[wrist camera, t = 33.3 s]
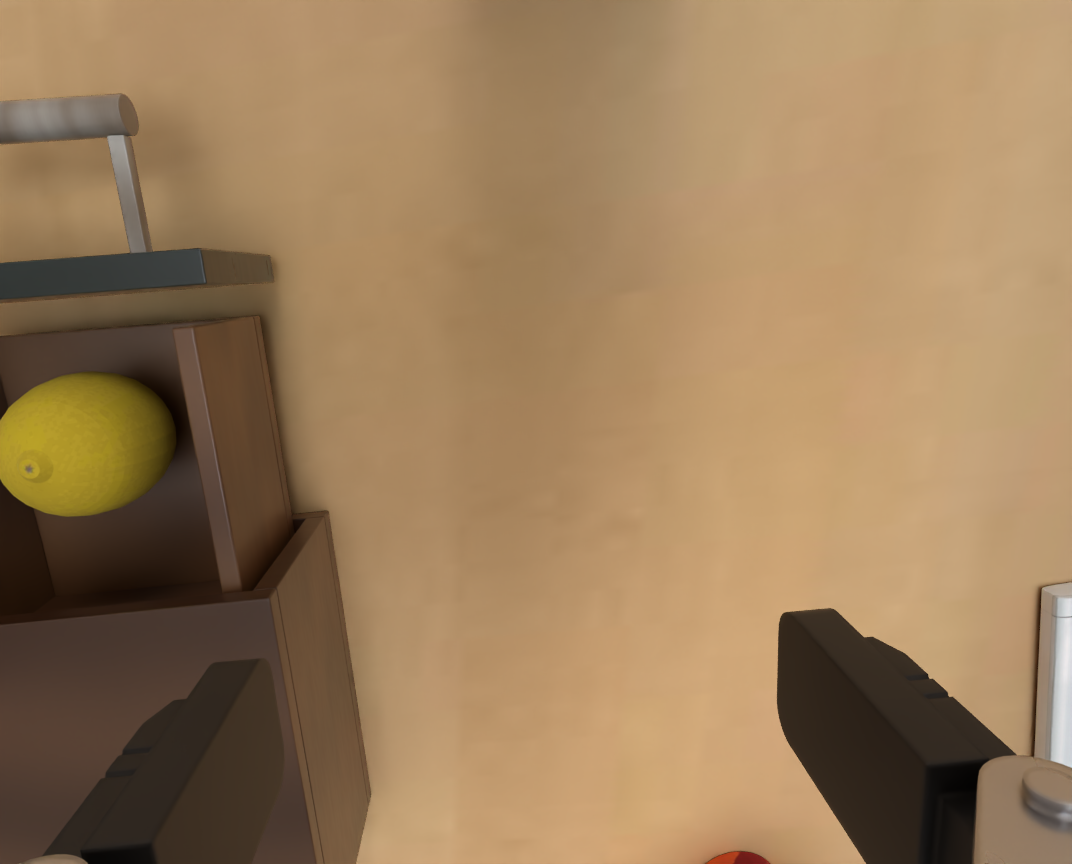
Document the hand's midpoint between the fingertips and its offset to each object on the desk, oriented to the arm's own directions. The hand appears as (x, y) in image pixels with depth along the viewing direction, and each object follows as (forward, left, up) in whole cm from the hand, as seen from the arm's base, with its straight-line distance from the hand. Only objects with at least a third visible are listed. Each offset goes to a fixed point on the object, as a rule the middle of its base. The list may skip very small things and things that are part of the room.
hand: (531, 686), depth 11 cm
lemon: (-1, -16, -22) cm, 28 cm away
